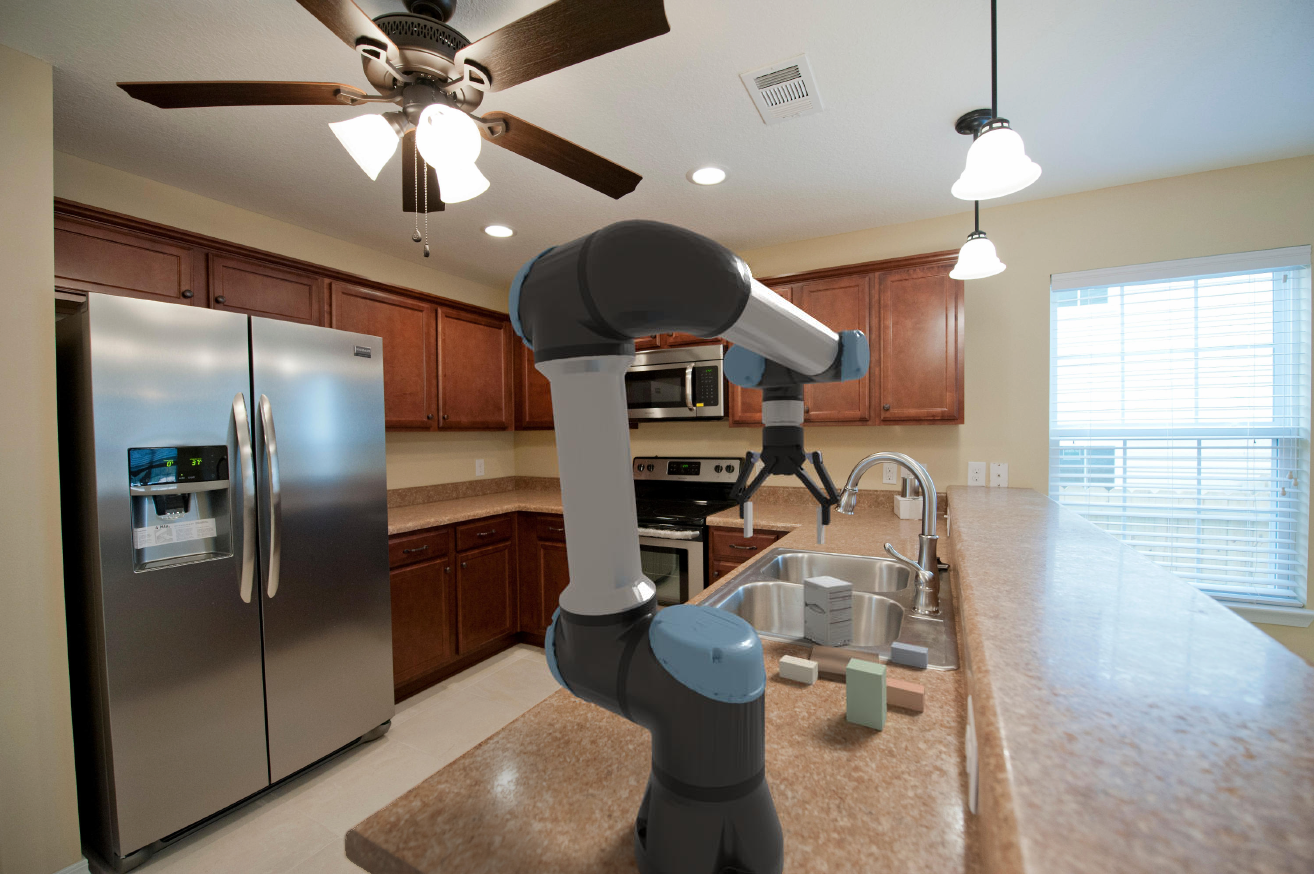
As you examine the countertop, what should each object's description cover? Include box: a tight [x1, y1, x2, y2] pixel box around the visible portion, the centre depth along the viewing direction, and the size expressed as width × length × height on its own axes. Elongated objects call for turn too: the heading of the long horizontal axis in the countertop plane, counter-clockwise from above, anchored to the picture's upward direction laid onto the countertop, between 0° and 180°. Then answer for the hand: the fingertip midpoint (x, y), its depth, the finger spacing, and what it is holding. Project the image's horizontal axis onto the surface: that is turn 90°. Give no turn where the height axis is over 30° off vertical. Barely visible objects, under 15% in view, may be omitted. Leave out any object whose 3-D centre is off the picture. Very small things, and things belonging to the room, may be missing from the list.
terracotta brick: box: [886, 677, 926, 713], centre depth 82 cm, size 6×3×3 cm, turn 58°
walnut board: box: [809, 644, 880, 682], centre depth 95 cm, size 12×12×1 cm
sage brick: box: [845, 658, 888, 731], centre depth 77 cm, size 4×5×8 cm
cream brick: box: [778, 654, 819, 686], centre depth 91 cm, size 6×3×3 cm, turn 57°
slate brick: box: [890, 641, 929, 670], centre depth 97 cm, size 6×3×3 cm, turn 57°
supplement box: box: [803, 575, 854, 648], centre depth 109 cm, size 7×7×13 cm
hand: (783, 539), depth 95 cm, fingers open, 13 cm apart
